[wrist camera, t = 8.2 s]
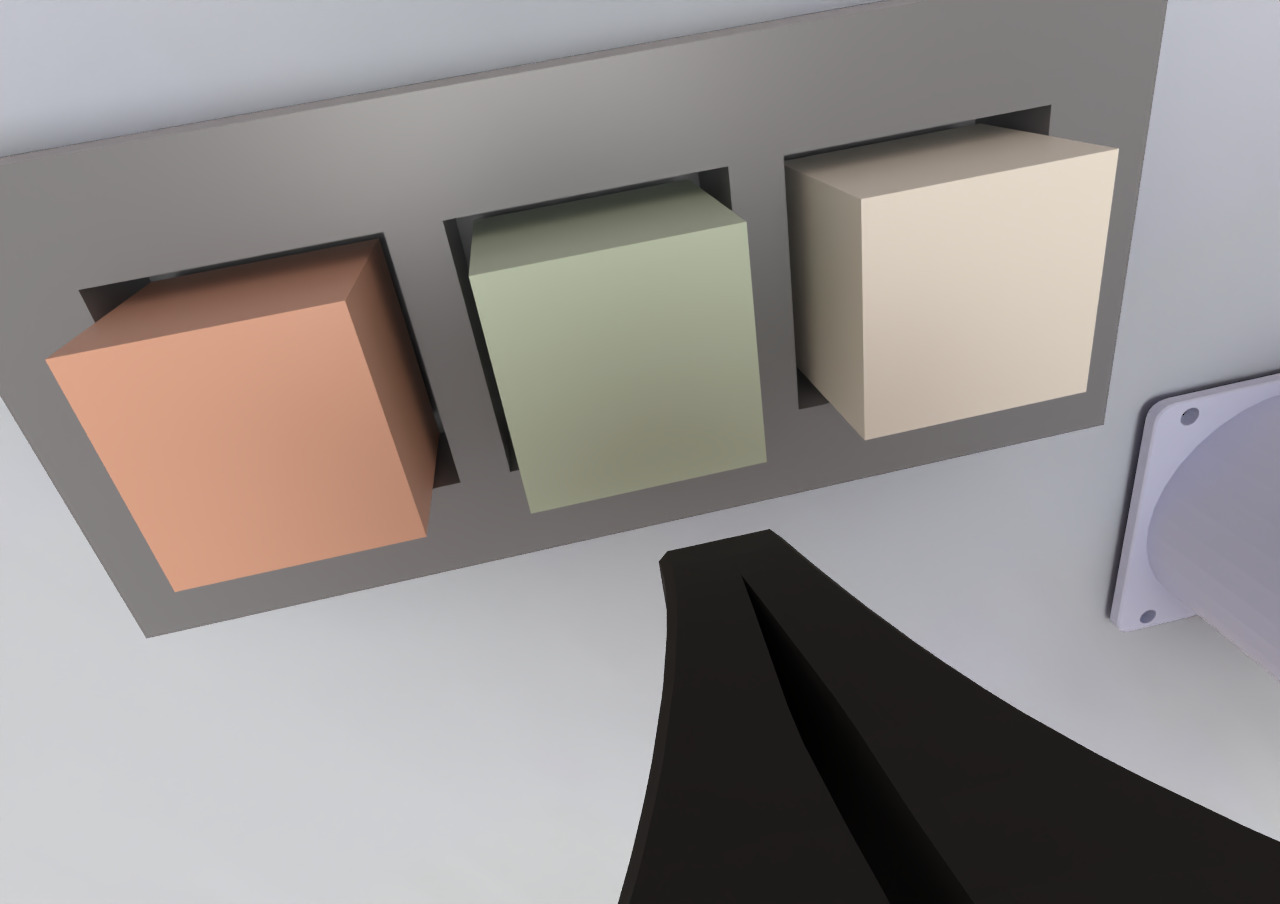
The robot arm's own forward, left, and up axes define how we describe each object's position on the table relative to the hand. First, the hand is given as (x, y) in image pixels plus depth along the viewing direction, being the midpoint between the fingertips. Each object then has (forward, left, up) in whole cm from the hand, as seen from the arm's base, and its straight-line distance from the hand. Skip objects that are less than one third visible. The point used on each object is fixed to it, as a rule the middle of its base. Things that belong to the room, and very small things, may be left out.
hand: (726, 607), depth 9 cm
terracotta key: (+6, -1, -9) cm, 11 cm away
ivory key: (-6, -1, -8) cm, 10 cm away
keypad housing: (0, -1, -10) cm, 10 cm away
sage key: (0, -1, -9) cm, 9 cm away
